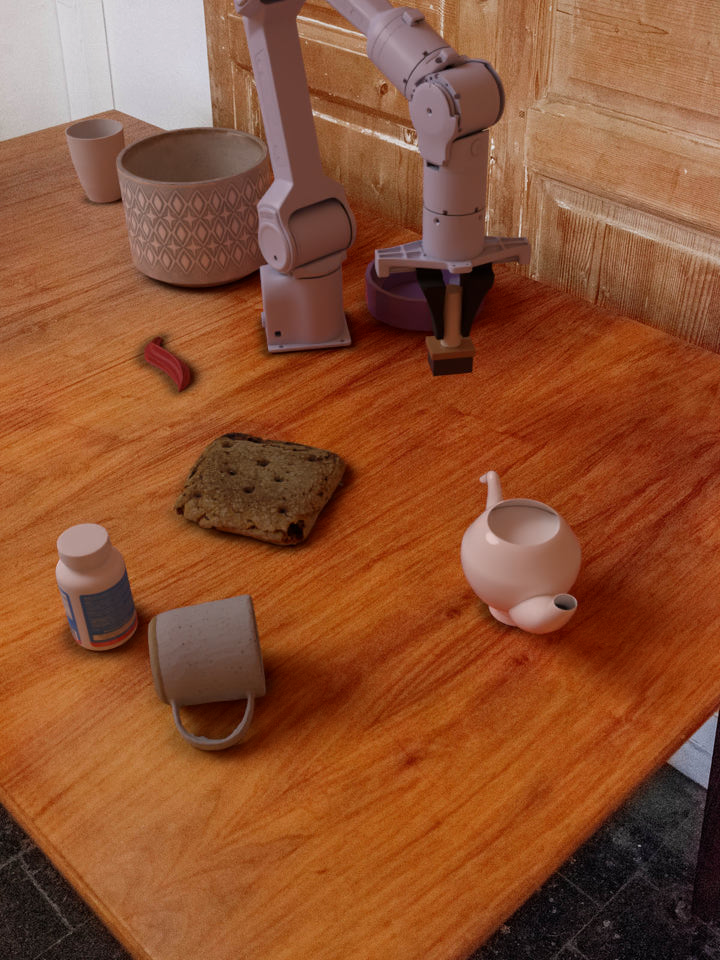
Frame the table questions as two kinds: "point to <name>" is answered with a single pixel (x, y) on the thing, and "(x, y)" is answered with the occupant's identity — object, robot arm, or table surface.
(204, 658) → the ceramic mug
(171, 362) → the cayenne pepper
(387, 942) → the table surface
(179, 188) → the planter
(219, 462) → the pastry
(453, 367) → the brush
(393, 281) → the bowl
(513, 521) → the teapot
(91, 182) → the cup
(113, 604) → the pill bottle
